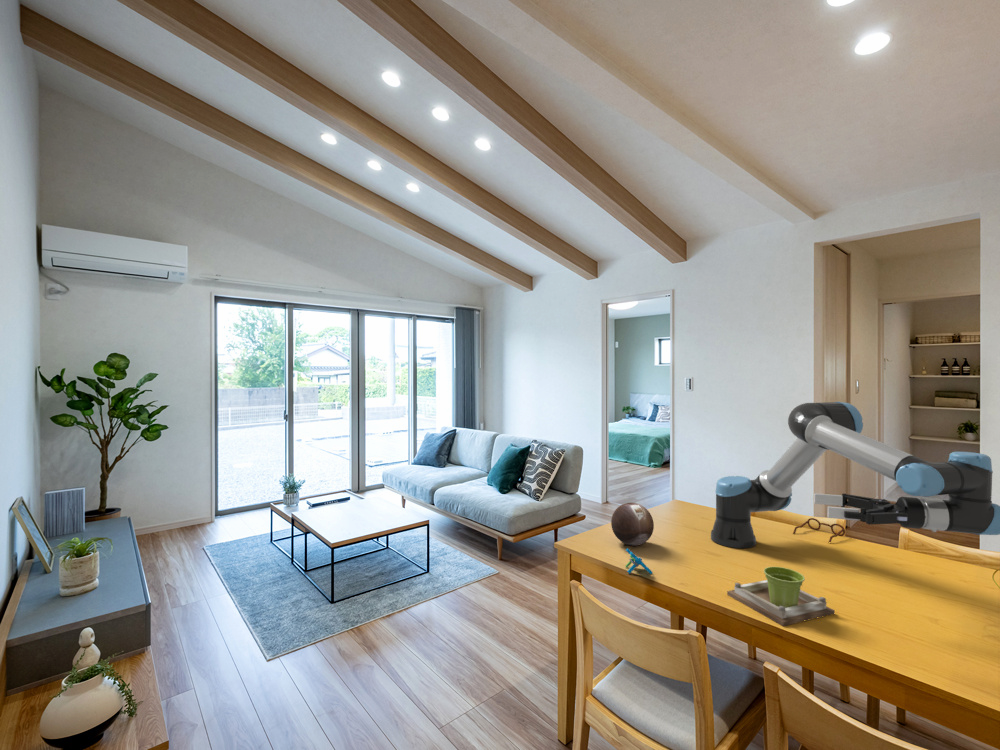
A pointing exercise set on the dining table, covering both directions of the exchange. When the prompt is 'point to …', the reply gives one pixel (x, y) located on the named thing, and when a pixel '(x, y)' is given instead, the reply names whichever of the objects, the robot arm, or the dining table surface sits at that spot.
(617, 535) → the wooden sphere
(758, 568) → the dining table surface
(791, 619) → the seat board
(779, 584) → the plant pot
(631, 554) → the blue plastic toy
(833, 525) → the glasses
